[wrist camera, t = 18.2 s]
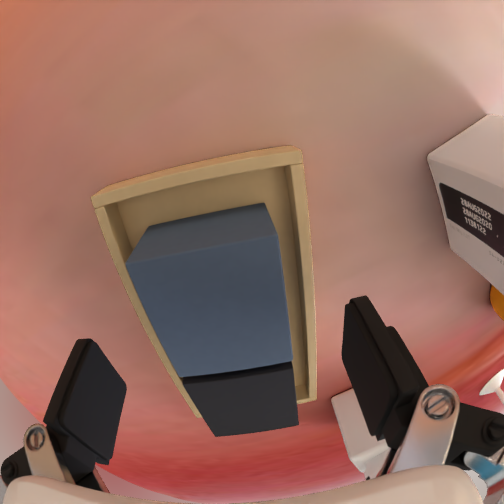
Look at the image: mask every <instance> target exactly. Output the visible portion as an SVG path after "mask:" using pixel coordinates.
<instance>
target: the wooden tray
mask: <svg viewBox="0 0 504 504" xmlns="http://www.w3.org/2000/svg"><path fill="white" fill-rule="evenodd" d="M91 201H92V204H93V207H94V208H95V213H96V216H97V219H98V222H99V225H100V227H101V230H102V233H103V236H104V238H105V241H106V244H107V246H108V249H109V251H110V254H111V256H112V259H113V261H114V264H115V266H116V269H117V271H118V274H119V276H120V278H121V280H122V283H123V285H124V287H125V290H126V292H127V294H128V296H129V298H130V300H131V303H132V305H133V307H134V309H135V311H136V313H137V315H138V317H139V319H140V321H141V323H142V325H143V327H144V329H145V331H146V333H147V335H148V337H149V339H150V341H151V343H152V344H153V346H154V348H155V350H156V352H157V354H158V355H159V357H160V359H161V361H162V363H163V364H164V366H165V368H166V370H167V371H168V373H169V375H170V376H171V378H172V380H173V381H174V383H175V385H176V386H177V388H178V390H179V391H180V393H181V394H182V396H183V397H184V399H185V401H186V402H187V404H188V405H189V407H190V408H191V410H192V411H193V413H194V414H195V416H196V417H197V418H201V417H202V416H201V414H200V413H199V411H198V409H197V408H196V406H195V405H194V403H193V401H192V400H191V398H190V396H189V395H188V393H187V392H186V390H185V388H184V386H183V385H182V382H183V377H179V376H178V374H177V372H176V370H175V369H174V367H173V365H172V363H171V361H170V360H169V358H168V356H167V354H166V352H165V350H164V348H163V346H162V344H161V342H160V340H159V338H158V336H157V334H156V332H155V330H154V328H153V326H152V324H151V322H150V320H149V318H148V316H147V314H146V312H145V310H144V307H143V305H142V303H141V301H140V299H139V296H138V294H137V292H136V289H135V287H134V285H133V282H132V280H131V278H130V275H129V273H128V270H127V268H126V265H125V263H126V261H127V260H128V258H129V256H130V255H131V253H132V251H133V250H134V248H135V247H136V245H137V243H138V242H139V240H140V239H141V237H142V235H143V234H144V232H145V231H146V229H147V228H148V226H151V225H155V224H159V223H164V222H168V221H173V220H177V219H182V218H187V217H191V216H196V215H201V214H206V213H211V212H216V211H221V210H226V209H231V208H236V207H242V206H247V205H253V204H258V203H265V205H266V207H267V210H268V212H269V214H270V217H271V219H272V222H273V224H274V226H275V229H276V231H277V234H278V238H279V245H280V252H281V260H282V268H283V275H284V283H285V291H286V299H287V308H288V316H289V325H290V334H291V343H292V352H293V360H292V365H293V370H294V380H295V389H296V400H297V404H300V403H305V402H309V401H314V400H317V352H316V315H315V293H314V275H313V259H312V246H311V233H310V222H309V211H308V201H307V191H306V182H305V173H304V165H303V156H302V150H300V149H298V148H296V147H293V146H291V145H288V146H281V147H274V148H268V149H261V150H255V151H249V152H244V153H238V154H233V155H227V156H222V157H217V158H212V159H208V160H203V161H198V162H194V163H190V164H185V165H181V166H177V167H173V168H169V169H165V170H161V171H157V172H153V173H150V174H146V175H142V176H139V177H135V178H132V179H128V180H125V181H122V182H118V183H115V184H112V185H109V186H106V187H105V188H103V189H102V190H100V191H99V192H97V193H96V194H94V195H93V196H92V197H91Z"/></svg>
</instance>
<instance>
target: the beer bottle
mask: <svg viewBox="0 0 504 504" xmlns="http://www.w3.org/2000/svg"><path fill="white" fill-rule="evenodd" d="M490 301H491V304H492V307H493V309H494V310H495V312H496V313H497V314H498V316H499V317H500V318H501V319H502V320H503V321H504V295H503V294H502V293H501V292H500V291H499V290H498V289H496V288H495V287H494V286H493V285H492V286H491V291H490Z"/></svg>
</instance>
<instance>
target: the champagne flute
mask: <svg viewBox="0 0 504 504" xmlns="http://www.w3.org/2000/svg"><path fill="white" fill-rule="evenodd" d="M503 377H504V369H503V370H501V371H500V372H498V373H497V374H496V375H495V376H494V377H493V378H492V379H491V380H490V381H489V382H488V383H487V384H486V385H485V386H484V387H483V389H482V390H481V392H480V394H479V395H484V394H488V393H492V392H496V394H497V395H498V397H499V398H500V400H501V402H502V403H503V405H504V393H503V391H502V390H501V388H500V385H501V382H502V380H503Z"/></svg>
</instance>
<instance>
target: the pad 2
mask: <svg viewBox="0 0 504 504" xmlns="http://www.w3.org/2000/svg"><path fill="white" fill-rule="evenodd" d="M182 385H183V386H184V388H185V390H186V392H187V393H188V395H189V396H190V398H191V400H192V401H193V403H194V405H195V406H196V408H197V409H198V411H199V413H200V414H201V416H202V417H203V419H204V420H205V422H206V423H207V425H208V426H209V428H210V429H211V431H212V432H213V434H214V435H215V437H218V436H230V435H239V434H248V433H255V432H262V431H269V430H275V429H281V428H286V427H291V426H296V425H299V421H298V410H297V400H296V389H295V380H294V370H293V365H292V361H289V362H284V363H279V364H273V365H268V366H262V367H256V368H250V369H244V370H237V371H230V372H223V373H215V374H207V375H197V376H187V377H183V382H182Z"/></svg>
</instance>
